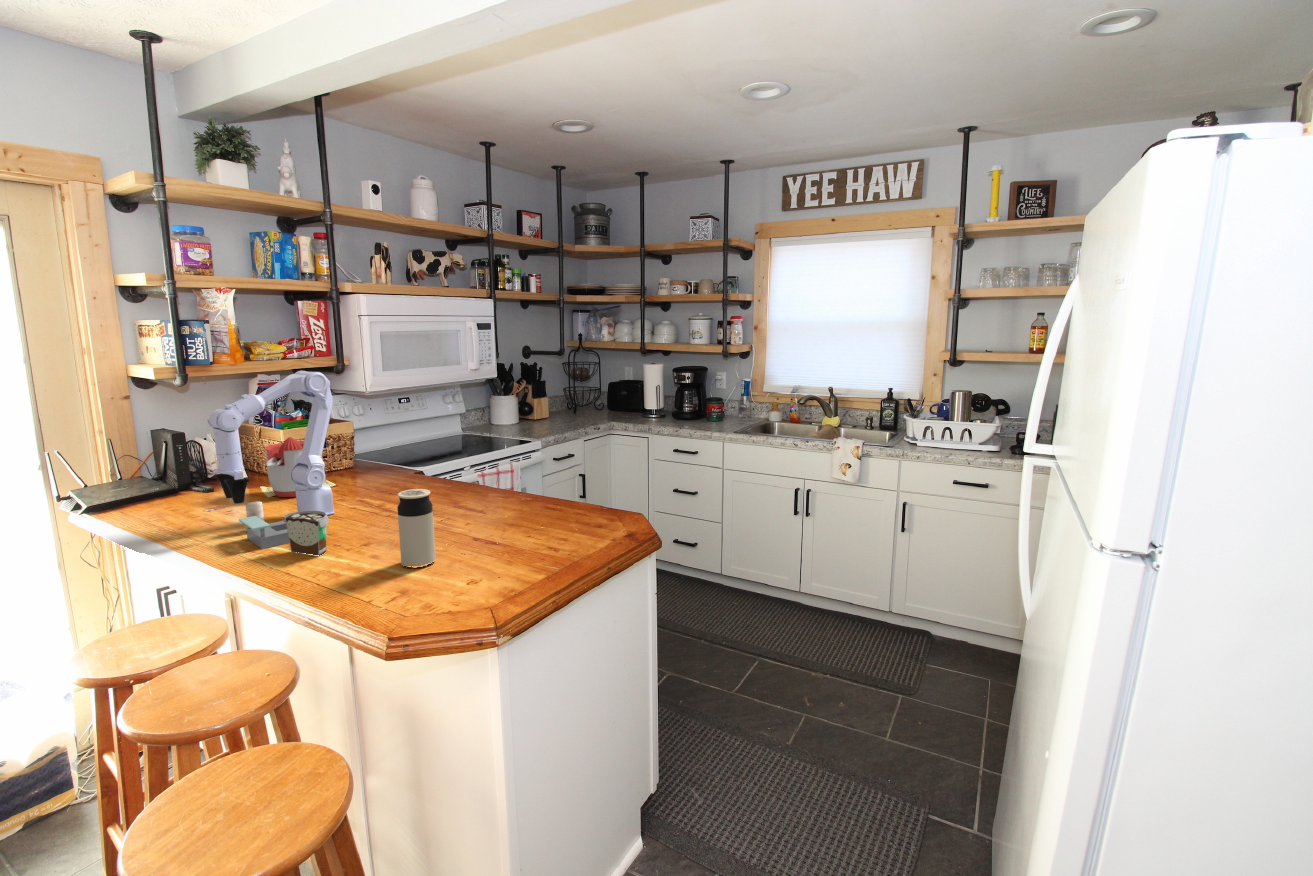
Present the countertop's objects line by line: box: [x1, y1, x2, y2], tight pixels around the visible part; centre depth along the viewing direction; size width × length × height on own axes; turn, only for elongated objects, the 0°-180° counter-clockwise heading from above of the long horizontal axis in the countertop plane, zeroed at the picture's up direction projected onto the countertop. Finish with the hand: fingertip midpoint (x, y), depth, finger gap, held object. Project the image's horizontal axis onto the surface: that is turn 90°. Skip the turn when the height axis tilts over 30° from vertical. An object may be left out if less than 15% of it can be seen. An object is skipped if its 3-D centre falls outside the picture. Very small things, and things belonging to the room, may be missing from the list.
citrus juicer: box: [263, 436, 304, 498], centre depth 217 cm, size 16×17×20 cm
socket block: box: [238, 516, 290, 550], centre depth 173 cm, size 14×12×6 cm
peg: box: [245, 501, 265, 528], centre depth 180 cm, size 4×4×8 cm
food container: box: [283, 511, 330, 557], centre depth 164 cm, size 12×6×10 cm, turn 71°
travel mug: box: [397, 488, 437, 567], centre depth 155 cm, size 8×8×18 cm
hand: (235, 500), depth 177 cm, fingers open, 7 cm apart
